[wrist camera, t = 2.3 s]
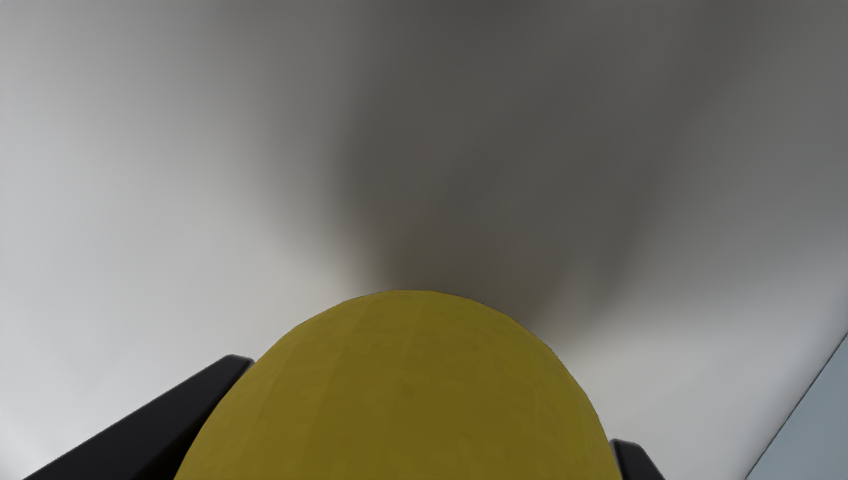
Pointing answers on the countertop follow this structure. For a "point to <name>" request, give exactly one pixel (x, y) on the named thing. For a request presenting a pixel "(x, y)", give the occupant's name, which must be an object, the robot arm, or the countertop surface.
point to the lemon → (404, 401)
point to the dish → (813, 431)
